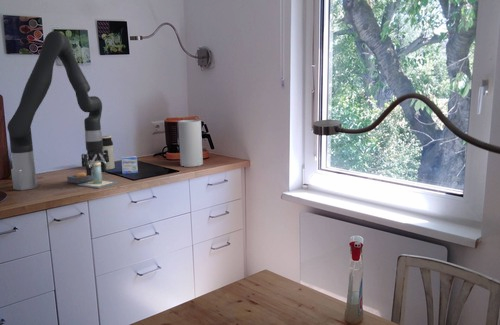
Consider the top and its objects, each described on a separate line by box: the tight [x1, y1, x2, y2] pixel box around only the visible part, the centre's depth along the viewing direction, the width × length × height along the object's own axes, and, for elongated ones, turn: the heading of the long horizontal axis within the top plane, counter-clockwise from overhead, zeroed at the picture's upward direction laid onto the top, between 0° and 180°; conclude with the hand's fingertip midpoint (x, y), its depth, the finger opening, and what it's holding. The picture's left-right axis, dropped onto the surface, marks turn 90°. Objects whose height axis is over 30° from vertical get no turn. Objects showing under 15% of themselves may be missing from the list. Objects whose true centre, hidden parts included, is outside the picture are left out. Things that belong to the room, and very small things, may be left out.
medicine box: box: [120, 155, 139, 175], centre depth 242 cm, size 8×4×9 cm, turn 105°
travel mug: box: [98, 135, 116, 171], centre depth 253 cm, size 8×8×18 cm
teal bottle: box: [91, 161, 103, 184], centre depth 217 cm, size 4×4×10 cm
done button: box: [74, 172, 87, 177], centre depth 225 cm, size 5×5×2 cm
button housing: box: [66, 173, 93, 185], centre depth 225 cm, size 9×9×3 cm
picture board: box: [77, 179, 119, 190], centre depth 218 cm, size 12×14×1 cm
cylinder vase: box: [177, 119, 204, 168], centre depth 257 cm, size 12×12×25 cm
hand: (96, 173), depth 217 cm, fingers open, 8 cm apart
